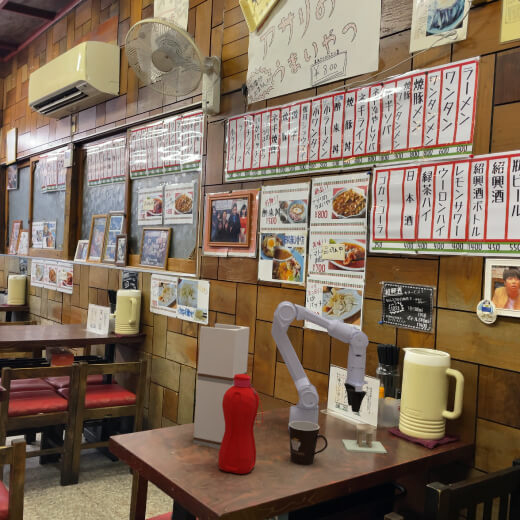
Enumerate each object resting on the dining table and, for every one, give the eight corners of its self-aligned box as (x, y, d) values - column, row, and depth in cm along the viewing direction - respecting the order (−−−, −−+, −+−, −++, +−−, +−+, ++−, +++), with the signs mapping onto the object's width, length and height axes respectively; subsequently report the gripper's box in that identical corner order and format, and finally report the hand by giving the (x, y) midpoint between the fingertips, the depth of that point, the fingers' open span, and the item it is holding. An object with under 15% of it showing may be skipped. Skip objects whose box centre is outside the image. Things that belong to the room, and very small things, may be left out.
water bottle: (254, 478, 139) (260, 380, 139) (214, 471, 141) (220, 375, 142) (264, 466, 147) (269, 374, 148) (226, 459, 150) (231, 369, 150)
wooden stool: (357, 447, 165) (358, 428, 165) (353, 442, 170) (354, 423, 171) (374, 448, 166) (375, 429, 166) (370, 443, 171) (371, 424, 171)
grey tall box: (242, 440, 167) (249, 327, 167) (227, 450, 157) (235, 330, 157) (209, 434, 171) (216, 323, 171) (193, 443, 161) (200, 326, 162)
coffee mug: (281, 456, 155) (283, 421, 155) (308, 454, 159) (310, 420, 159) (300, 472, 145) (302, 434, 145) (328, 469, 148) (330, 432, 148)
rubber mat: (347, 451, 163) (347, 449, 163) (342, 441, 172) (342, 439, 172) (386, 453, 164) (386, 451, 164) (379, 443, 173) (379, 441, 173)
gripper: (372, 372, 170) (370, 415, 170) (364, 363, 185) (361, 403, 185) (350, 371, 170) (347, 414, 170) (343, 362, 185) (341, 402, 185)
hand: (353, 408), depth 177 cm, fingers open, 7 cm apart
